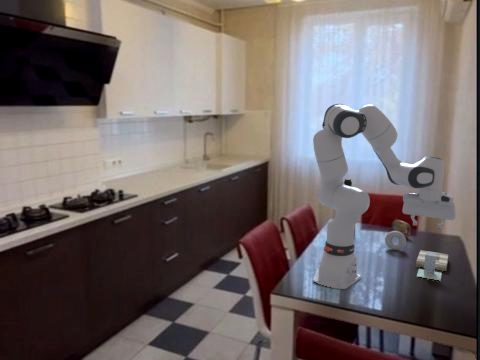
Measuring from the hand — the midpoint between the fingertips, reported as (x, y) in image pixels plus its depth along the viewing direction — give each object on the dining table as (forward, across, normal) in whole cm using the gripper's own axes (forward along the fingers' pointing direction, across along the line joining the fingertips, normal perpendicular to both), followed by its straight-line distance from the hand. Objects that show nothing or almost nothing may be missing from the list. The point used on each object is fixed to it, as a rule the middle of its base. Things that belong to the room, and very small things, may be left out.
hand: (426, 226), depth 165 cm
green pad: (+21, +3, -1) cm, 21 cm away
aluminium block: (+20, +3, -1) cm, 20 cm away
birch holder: (+20, +3, +15) cm, 25 cm away
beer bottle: (+21, -44, +35) cm, 60 cm away
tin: (+20, -17, +54) cm, 60 cm away
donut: (+21, -15, +26) cm, 36 cm away
